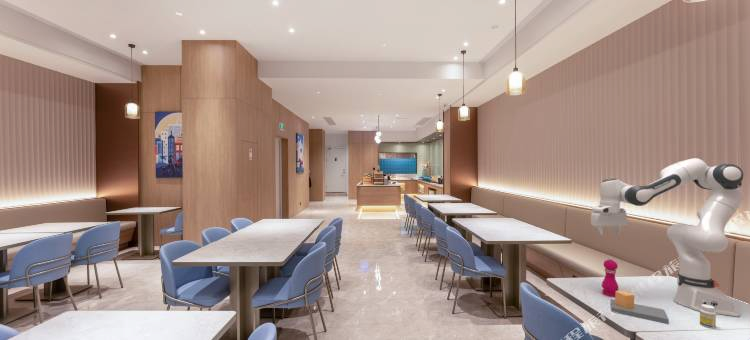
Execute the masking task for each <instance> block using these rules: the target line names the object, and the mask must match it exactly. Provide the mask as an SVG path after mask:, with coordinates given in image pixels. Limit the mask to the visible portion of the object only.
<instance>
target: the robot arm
mask: <svg viewBox="0 0 750 340" xmlns="http://www.w3.org/2000/svg"><path fill="white" fill-rule="evenodd" d="M743 179H744V171H743V169H742V168H741V167H740V166H738V165H736V164H733V163H732V164H731V163H722V164H719V165H714V166H708V165H707V163H706V162H705V161H704V160H702V159H701V158H698V157H697V158H695V157H694V158H689V159H685V160H681V161H678V162H674V163H672V164H670V165H667V166H666V167H664V168H662V169H661V171H660V172H659V179H657V180H655V181H653V182H651V183H648V184H647V185H632V184H628V183H625V182H623V181H621V180H620V179H618V178H616V177H615V178H605V179H603V180H602V181H601V183H600V187H599V196H600V201H599V204H598V205H597V204H596V206H592V207H591V209H590V210H591V215H590V224H591V226H594V227H596V228H597V230H598V232H599V235H601V236H602V235H605V231H604V230H603V228H604V227H614V228H615V230H613V234H614V235H619V234H620V231H621V229H622V226H623V227H624V226H625V227H626V226H627V225H628V215H627V211H626V209H624V208H623V207H621V202H622V203H626V204H631V205H634V206H637V207H641V206H645V205H647V204H648V203H650V202H651V201H652V200H653V199H654V198H655V197H657V196H660V195H662V194H664V193H666V192H668V191H670V190H673V189H674V188H677V187H679V186H682V185H683V186H684V185H686V184H688V183H690V182H693V183H694V184H695V185H696V186H697V187H699V188H701V189H702V190H707V191H708V190H711V193H710V195H709V197H708V198H707V199H706V200H705V201H704V202H703V204H702V205H701V207H699V209H698V210H697V211H696V216H697V218H698V219H699V222H698V224H697V225H696V226H695V225H691V224H684V223H683V224H682V223H679V224H678V223H677V224H672V225H669V226H668V228H667V230H666V236H667V238H668V239H669V241H670V242H671V243H672V244H673V245H674V248H675V250H676V252H677V256H678V257H677V258H678V273H677V276H676V277H677V279H676V280H677V281H676V282H677V291H676V293H675V296H674V298H673V301H674V302H675V303H677V304H679V305H681V306H684V307H687V308H688V309H689V308H690V309H692V310H694V311H698V312H700V309H702V308H701V305H702V304H705V305H710V306H713V307H714V308H715V311H714V312H715V313H716V315H717V314H718V315H724V316H730V317H741V312H740V311H739V310H738V309H737V308H736V307H734V305H733V301H732V299H731V298H730V297H729V296H728V295H727V294H726V293H724V292H723V291H721V290H720V289H719V288H718V287H720V285H721V284H720V283H719V282H718V281H716V280H715V279H712V278H711V262H710V260H708V259H707V258H706V257H705V254H703V252H707V253H722V252H723V251H725V250H726V249H727V247H728V245H729V240H728V237H727V236H726V234H725V229H726V228H725V227H726V225H727V224H728V222H729V221H730V219H732V217H733V216H734V215H735V213H736V212H737V210H738V209H739V207H740V206H741V204H742V202H743V201H744V198H745V197H744V193H743V191H741V190H740V189H739V188H740V187H741V186H742V182H743ZM702 251H703V252H702Z"/></svg>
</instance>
